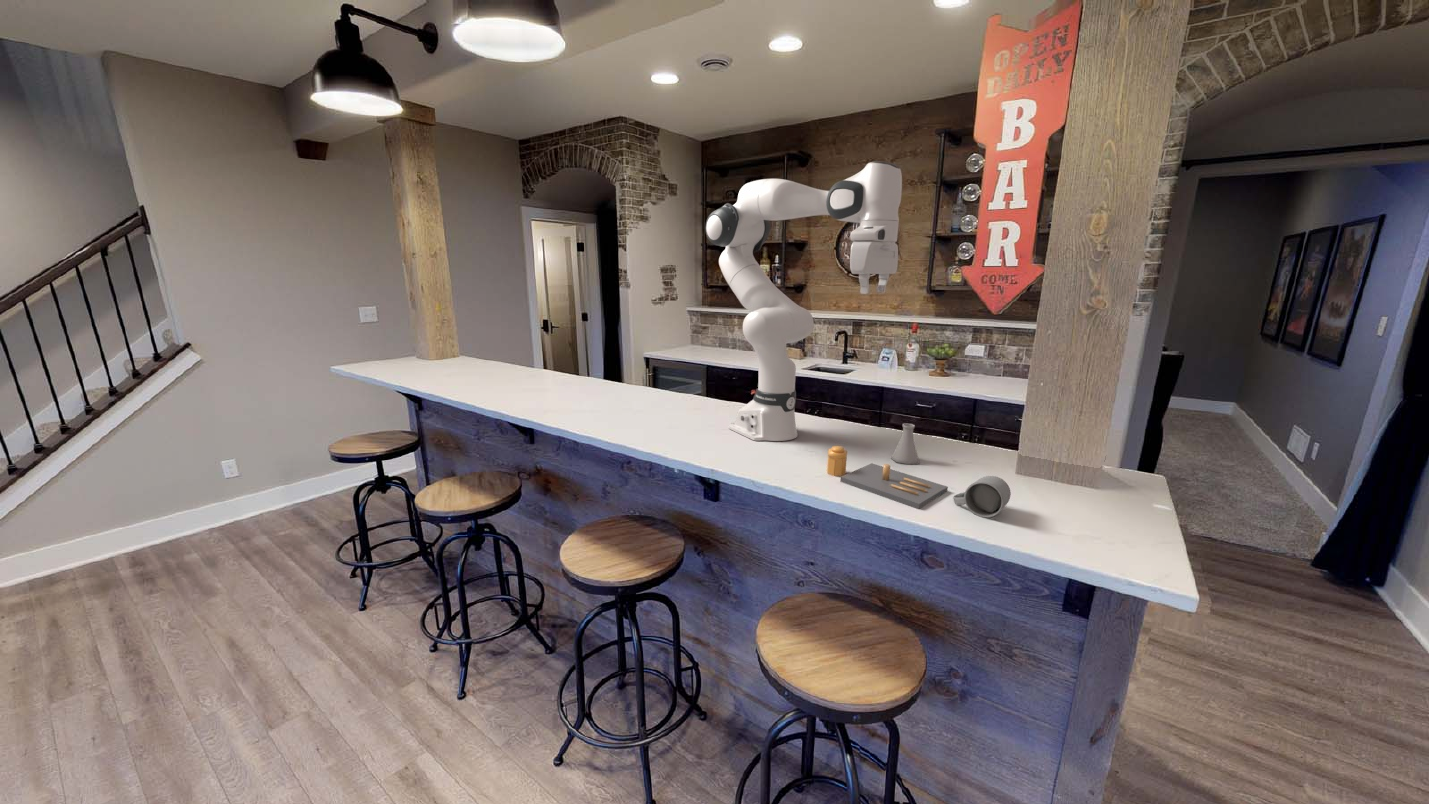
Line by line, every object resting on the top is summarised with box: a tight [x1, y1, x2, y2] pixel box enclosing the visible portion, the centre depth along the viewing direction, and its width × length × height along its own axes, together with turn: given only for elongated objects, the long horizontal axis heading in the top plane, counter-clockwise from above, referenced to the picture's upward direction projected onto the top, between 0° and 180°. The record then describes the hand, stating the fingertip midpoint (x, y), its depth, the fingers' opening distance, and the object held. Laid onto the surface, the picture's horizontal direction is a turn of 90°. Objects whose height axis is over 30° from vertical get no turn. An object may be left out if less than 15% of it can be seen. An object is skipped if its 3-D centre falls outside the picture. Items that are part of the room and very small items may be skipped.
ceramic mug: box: [952, 475, 1012, 518], centre depth 115 cm, size 11×8×8 cm
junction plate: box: [840, 462, 949, 510], centre depth 126 cm, size 20×14×5 cm
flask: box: [891, 423, 920, 465], centre depth 143 cm, size 7×7×10 cm
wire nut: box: [826, 445, 848, 477], centre depth 134 cm, size 5×5×7 cm
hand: (872, 293), depth 131 cm, fingers open, 8 cm apart
